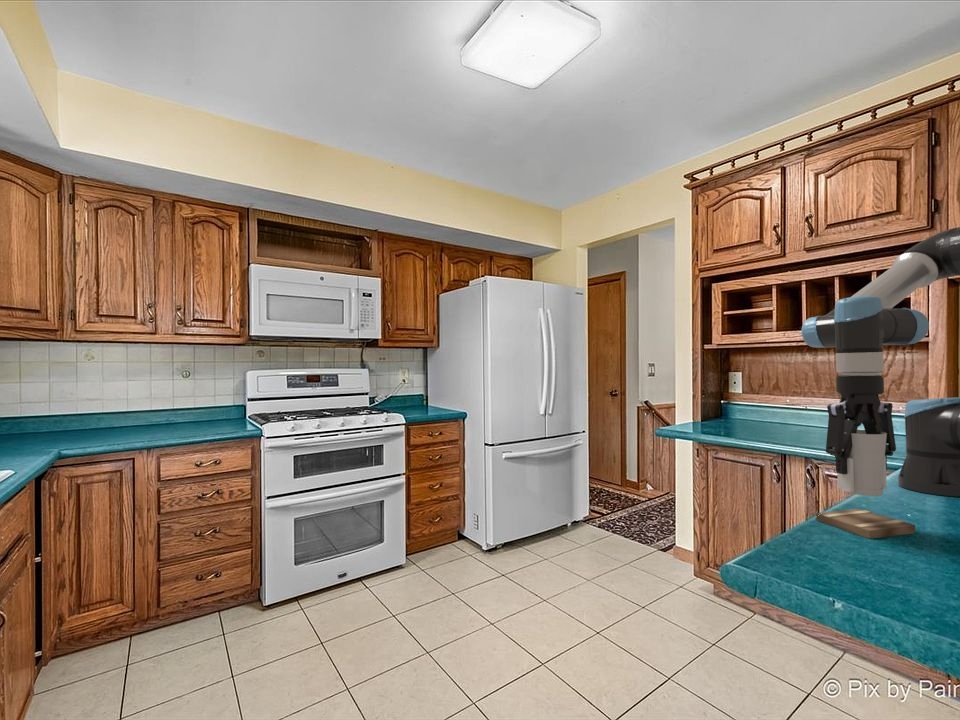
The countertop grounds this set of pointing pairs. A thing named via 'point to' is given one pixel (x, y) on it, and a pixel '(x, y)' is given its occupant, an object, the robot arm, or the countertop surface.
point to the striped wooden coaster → (866, 523)
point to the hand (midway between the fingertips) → (862, 488)
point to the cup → (868, 462)
